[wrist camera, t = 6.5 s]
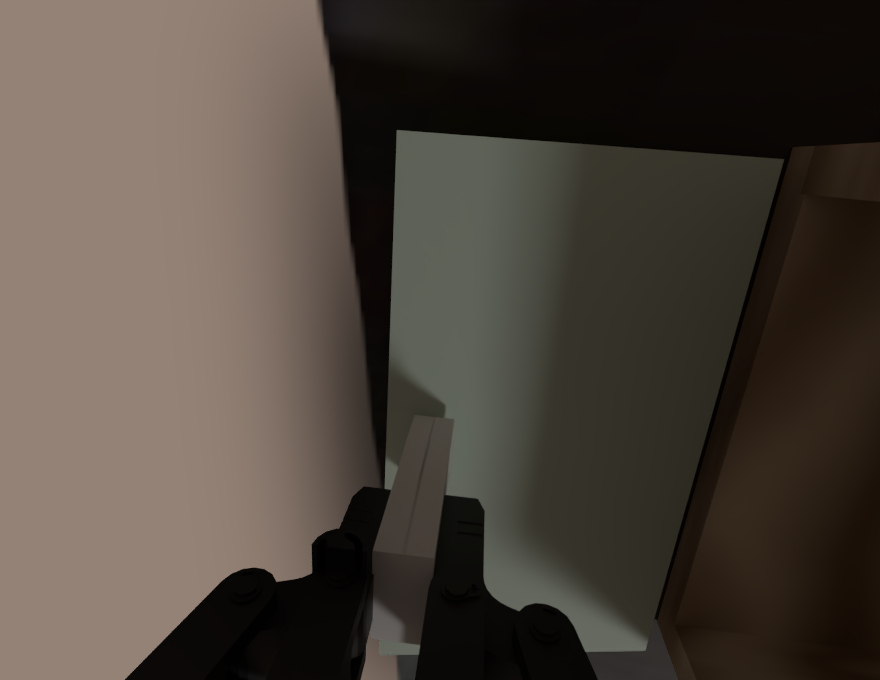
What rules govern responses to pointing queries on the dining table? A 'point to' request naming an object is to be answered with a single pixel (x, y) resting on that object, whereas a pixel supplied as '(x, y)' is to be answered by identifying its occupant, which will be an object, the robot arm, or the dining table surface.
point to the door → (569, 351)
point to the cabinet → (794, 451)
